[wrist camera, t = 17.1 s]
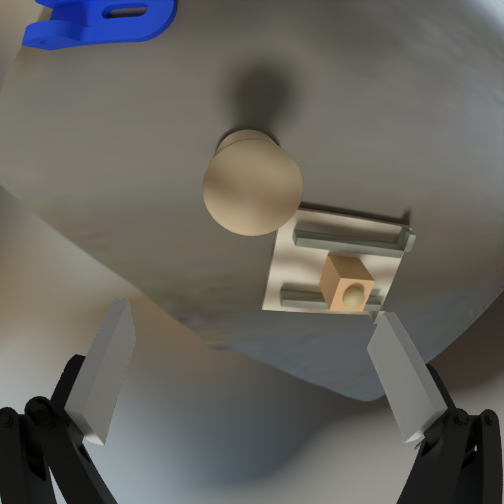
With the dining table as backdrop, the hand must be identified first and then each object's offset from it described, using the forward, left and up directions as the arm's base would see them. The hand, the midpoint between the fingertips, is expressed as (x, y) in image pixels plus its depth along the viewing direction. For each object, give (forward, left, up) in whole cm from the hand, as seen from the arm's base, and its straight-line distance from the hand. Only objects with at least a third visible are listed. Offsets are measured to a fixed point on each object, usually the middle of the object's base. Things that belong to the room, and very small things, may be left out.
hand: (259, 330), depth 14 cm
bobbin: (-4, 0, -25) cm, 25 cm away
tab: (+10, +15, -24) cm, 29 cm away
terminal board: (+9, +15, -25) cm, 30 cm away
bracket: (-23, -21, -25) cm, 40 cm away
